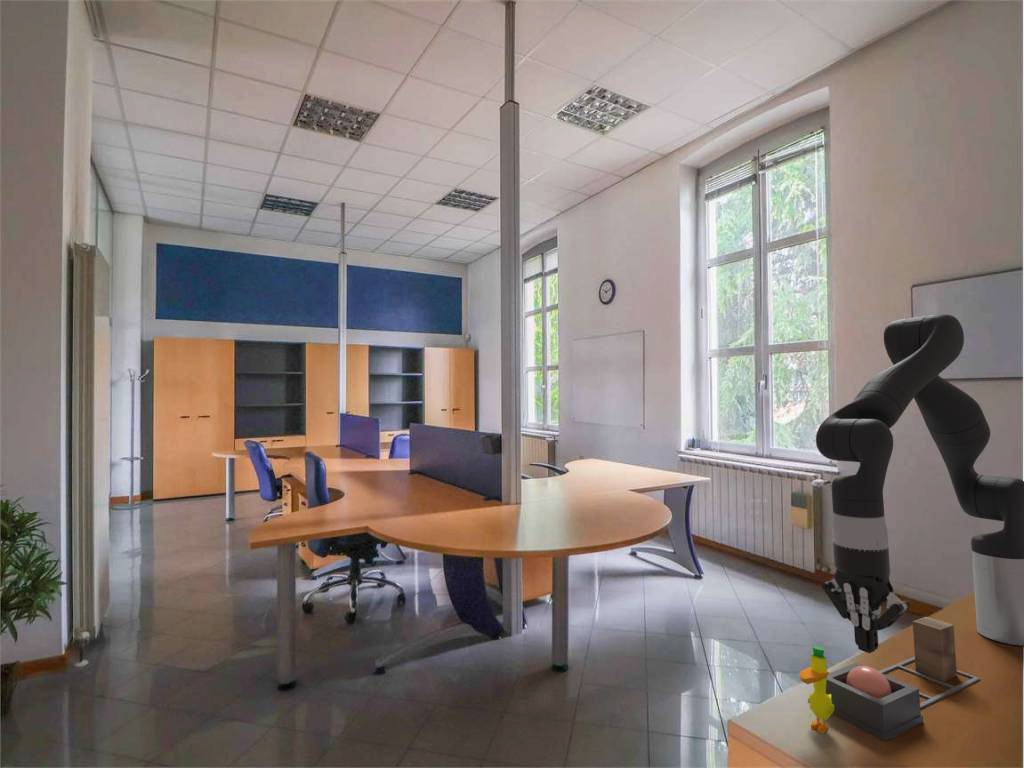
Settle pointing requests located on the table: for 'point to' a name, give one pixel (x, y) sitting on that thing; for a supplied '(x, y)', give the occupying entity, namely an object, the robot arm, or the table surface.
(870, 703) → the housing
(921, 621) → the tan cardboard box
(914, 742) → the table surface
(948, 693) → the frame
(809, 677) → the toy figure
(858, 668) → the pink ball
